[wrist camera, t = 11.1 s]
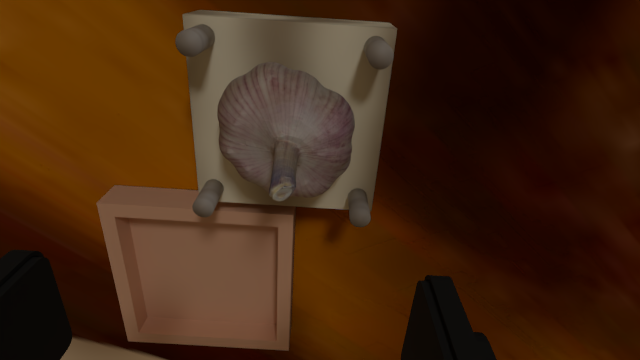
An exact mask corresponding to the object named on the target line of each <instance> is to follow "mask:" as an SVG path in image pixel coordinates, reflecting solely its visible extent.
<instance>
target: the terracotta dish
mask: <svg viewBox="0 0 640 360" xmlns="http://www.w3.org/2000/svg"><path fill="white" fill-rule="evenodd" d="M198 195H199V190H183V189H167V188H151V187H135V186H120V185H114V186H113V187H112V188H111V189H110V190H109V191H108V192H107V193H106V194H105V195H104V196H103V197H102V198H101V199H100V200H99V201H98V202H97V207H98V212H99V216H100V220H101V225H102V229H103V234H104V238H105V242H106V247H107V251H108V255H109V260H110V264H111V268H112V273H113V277H114V281H115V286H116V290H117V294H118V299H119V303H120V307H121V312H122V316H123V320H124V325H125V329H126V334H127V338H128V341H134V342H151V343H168V344H185V345H202V346H219V347H235V348H252V349H269V350H286V351H289V343H290V334H291V321H292V295H293V269H294V244H295V218H296V206H280V205H264V204H248V203H232V202H218V203H217V205H216V207H215V209H214V211H213V213H212V215H210V216H209V217H200V216H198V215H196V214H195V213H194V211H193V209H192V205H193V203H194V201H195V200H196V198H197V196H198Z"/></svg>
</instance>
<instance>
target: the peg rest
mask: <svg viewBox="0 0 640 360" xmlns="http://www.w3.org/2000/svg"><path fill="white" fill-rule="evenodd" d="M183 25H184V30H183V31H181V32H179V33H178V35H177V37H176V47H177V49H178V50H179V52H180V53H181V54H183V55H185V56H186V58H187V69H188V80H189V91H190V102H191V113H192V124H193V135H194V146H195V157H196V168H197V179H198V190H199V195H198V196H197V198H196V200H195V201H194V203H193V205H192V209H193V211H194V213H195V214H196V215H198V216H200V217H209V216H210V215H212V213H213V211H214V209H215V207H216V205H217V203H218V202H232V203H248V204H264V205H280V206H296V207H312V208H328V209H344V210H349V216H350V222H351V223H352V224H353V225H354V226H356V227H364V226H366V225H367V224H368V223H369V222H370V220H371V216H370V211H371V210H372V203H373V196H374V189H375V182H376V175H377V168H378V161H379V154H380V147H381V140H382V133H383V126H384V119H385V111H386V104H387V97H388V90H389V83H390V76H391V69H392V62H393V58H394V48H395V41H396V34H397V28H395V27H394V26H393V25H391V24H390V23H385V22H370V21H355V20H341V19H326V18H311V17H296V16H282V15H267V14H252V13H237V12H223V11H208V10H197V11H194V12H190V13H186V14H183ZM266 62H276V63H279V64H282V65H283V66H285V67H287V68H289V69H292V70H300V71H303V72H307V73H308V74H310V75H312V76H313V77H315V78H316V79H317V80H318V81H319V82H320V84H321V85H322V86H324V87H325V88H327V89H330V90H332V91H334V92H337V93H338V94H340V95H341V96H343V97H344V98H345V100H346V101H347V102H348V103H349V105H350V107H351V109H352V111H353V114H354V120H355V128H354V132H353V135H352V142H351V143H352V153H351V161H350V164H349V166H348V168H347V169H346V171H345V172H344V173H343V174H342V175H340V176H339V177H338V178H337V179H336V180H335V182H334V183H333V184H332V186H331V187H330V188H329V189H328V190H327V191H326V192H324V193H323V194H321V195H319V196H316V197H312V198H304V197H297V196H291V197H289V198H288V199H286V200H284V201H281V202H279V201H276V200H273V199H272V198H271V197H270V196H269V193H268V192H267V191H266V190H264V189H263V188H262V187H260V186H259V185H257V184H254V183H251V182H248V181H247V180H245V179H243V178H242V177H241V176H240V174H239V173H238V172H237V170H236V168H235V167H234V165H233V164H232V163H231V162H230V161H229V160H227V159H226V158H225V157H224V156H223V154H222V153H221V151H220V148H219V133H220V127H219V121H218V117H217V109H218V103H219V101H220V98H221V96H222V94H223V92H224V90H225V89H226V87H227V86H228V84H229V83H230V82H231V81H232V80H234V79H236V78H237V77H239V76H242V75H244V74H246V73H248V72H249V71H251V70H252V69H253V68H254V67H255V66H257V65H259V64H261V63H266Z"/></svg>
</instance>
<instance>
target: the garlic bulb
mask: <svg viewBox="0 0 640 360" xmlns="http://www.w3.org/2000/svg"><path fill="white" fill-rule="evenodd" d="M217 117H218V121H219V127H220V133H219V148H220V151H221V153H222V154H223V156H224V157H225V158H226V159H227V160H229V161H230V162H231V163H232V164H233V165H234V167H235V168H236V170H237V172H238V173H239V174H240V176H241V177H242V178H243V179H245V180H247V181H248V182H251V183H254V184H257V185H259V186H260V187H262V188H263V189H264V190H266V191H267V192H268V193H269V196H270V197H271V198H272V199H273V200H276V201H279V202H281V201H284V200H286V199H288V198H289V197H291V196H297V197H304V198H312V197H316V196H319V195H321V194H323V193H324V192H326V191H327V190H328V189H329V188H330V187H331V186H332V184H333V183H334V182H335V180H336V179H337V178H338V177H339V176H340V175H342V174H343V173H344V172H345V171H346V169H347V168H348V166H349V164H350V161H351V153H352V143H351V142H352V135H353V132H354V128H355V120H354V114H353V111H352V109H351V107H350V105H349V103H348V102H347V101H346V100H345V98H344V97H343V96H341V95H340V94H338V93H337V92H334V91H332V90H330V89H327V88H325V87H324V86H322V85H321V84H320V82H319V81H318V80H317V79H316V78H315V77H313V76H312V75H310V74H308V73H307V72H303V71H300V70H292V69H289V68H287V67H285V66H283V65H282V64H279V63H276V62H266V63H261V64H259V65H257V66H255V67H254V68H253V69H252V70H251V71H249V72H248V73H246V74H244V75H242V76H239V77H237V78H236V79H234V80H232V81H231V82H230V83H229V84H228V86H227V87H226V89H225V90H224V92H223V94H222V96H221V98H220V101H219V103H218V109H217Z"/></svg>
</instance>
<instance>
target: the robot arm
mask: <svg viewBox="0 0 640 360" xmlns="http://www.w3.org/2000/svg"><path fill="white" fill-rule="evenodd" d="M71 340H72V331H71V328H70V325H69V321H68V318H67V315H66V312H65V309H64V306H63V303H62V300H61V296H60V293H59V290H58V287H57V284H56V281H55V278H54V274H53V271H52V268H51V265H50V262H49V260H48V259H47V258H44V256H43V254H42V253H41V252H38V251H27V250H12V251H10V252H8V253H7V254H5V255H4V256H3V257H2V258H1V259H0V360H60V359H61V357H62V356H63V355H64V353H65V352H66V350H67V349H68V347H69V345H70V343H71ZM401 360H497V359H496V357H495V355H494V353H493V350H492V348H491V346H490V343H489V341H488V340H487V338H486V336H485V335H484V334H483V333H479V332H473V331H472V328H471V326H470V323H469V321H468V318H467V316H466V313H465V311H464V308H463V306H462V303H461V301H460V298H459V296H458V293H457V291H456V288H455V286H454V283H453V281H452V279H451V278H450V277H448V276H432V275H427V276H426V277H425V280H424V281H418V283H417V287H416V291H415V296H414V300H413V304H412V309H411V313H410V318H409V322H408V326H407V331H406V335H405V340H404V344H403V348H402V353H401Z"/></svg>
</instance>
